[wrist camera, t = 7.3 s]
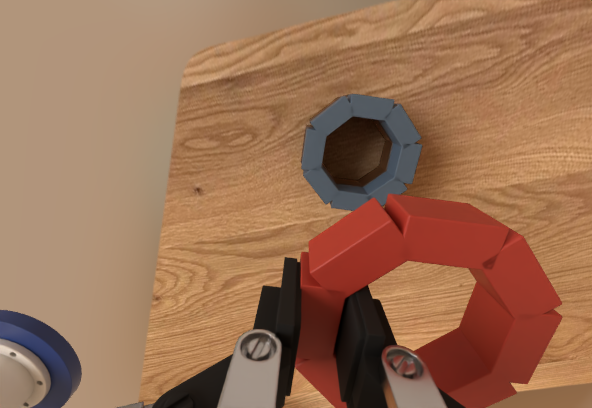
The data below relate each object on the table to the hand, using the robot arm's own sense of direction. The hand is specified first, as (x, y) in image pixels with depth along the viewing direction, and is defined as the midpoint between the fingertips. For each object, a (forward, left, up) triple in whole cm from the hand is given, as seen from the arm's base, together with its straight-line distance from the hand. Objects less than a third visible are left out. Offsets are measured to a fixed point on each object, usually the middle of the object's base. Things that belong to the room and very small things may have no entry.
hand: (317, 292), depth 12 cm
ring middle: (+3, +4, -15) cm, 16 cm away
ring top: (+4, 0, 0) cm, 4 cm away
